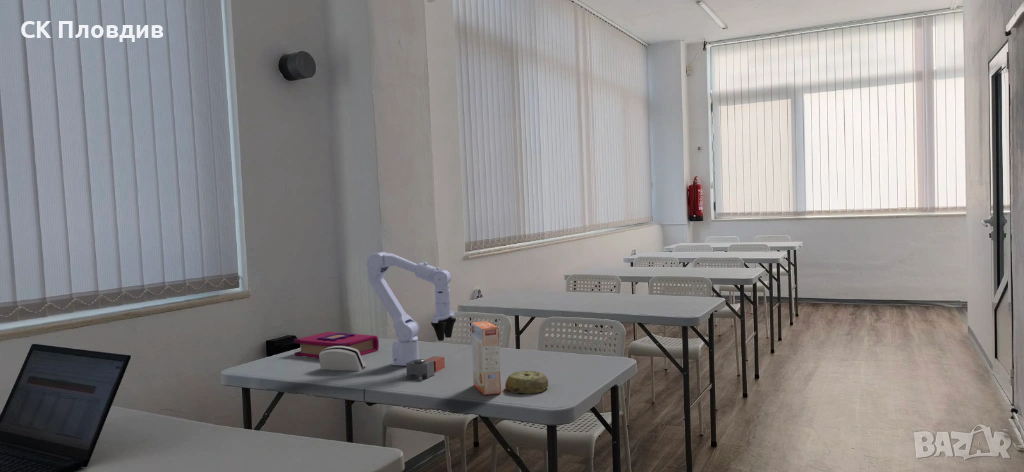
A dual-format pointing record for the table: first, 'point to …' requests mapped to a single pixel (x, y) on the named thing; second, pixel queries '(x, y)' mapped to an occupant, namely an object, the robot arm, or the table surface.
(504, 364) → the table surface
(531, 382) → the greenish tan ring
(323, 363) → the white napkin holder
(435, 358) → the red notched block
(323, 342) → the book
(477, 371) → the cracker box
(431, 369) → the coupler
